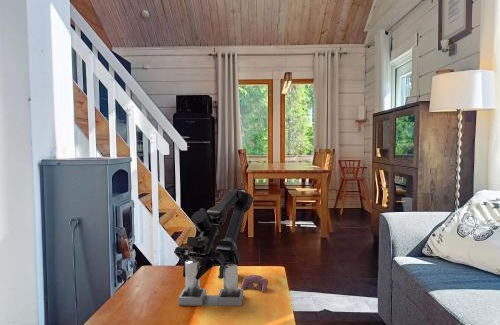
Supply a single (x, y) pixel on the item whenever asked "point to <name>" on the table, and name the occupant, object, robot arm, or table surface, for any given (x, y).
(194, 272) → the cylinder
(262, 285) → the video game controller
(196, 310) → the table surface
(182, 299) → the grey socket holder
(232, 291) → the billet
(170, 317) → the table surface
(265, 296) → the table surface
